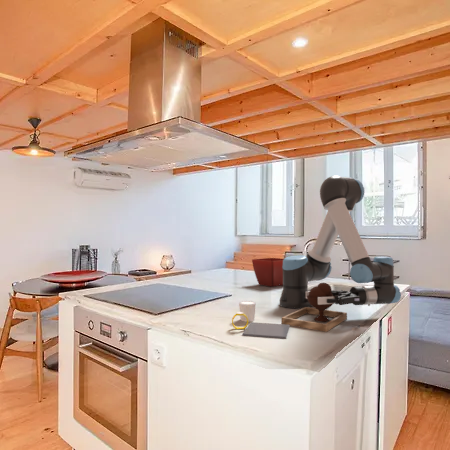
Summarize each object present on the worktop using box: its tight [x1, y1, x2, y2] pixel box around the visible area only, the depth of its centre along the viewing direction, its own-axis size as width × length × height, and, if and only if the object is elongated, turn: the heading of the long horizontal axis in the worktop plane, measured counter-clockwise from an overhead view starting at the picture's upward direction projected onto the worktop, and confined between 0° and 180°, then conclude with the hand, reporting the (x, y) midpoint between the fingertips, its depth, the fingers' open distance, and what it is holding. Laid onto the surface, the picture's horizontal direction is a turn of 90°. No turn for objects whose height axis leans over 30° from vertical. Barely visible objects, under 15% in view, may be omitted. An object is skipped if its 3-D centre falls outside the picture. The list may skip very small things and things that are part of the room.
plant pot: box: [251, 257, 285, 288], centre depth 225 cm, size 19×19×17 cm
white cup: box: [238, 300, 256, 323], centre depth 140 cm, size 7×7×7 cm
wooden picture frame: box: [280, 307, 348, 333], centre depth 136 cm, size 18×22×2 cm
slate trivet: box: [241, 321, 291, 340], centre depth 124 cm, size 15×15×1 cm
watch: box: [231, 311, 249, 330], centre depth 127 cm, size 6×3×6 cm, turn 91°
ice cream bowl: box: [307, 282, 335, 323], centre depth 138 cm, size 11×11×15 cm
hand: (311, 297), depth 137 cm, fingers closed on ice cream bowl, 11 cm apart
